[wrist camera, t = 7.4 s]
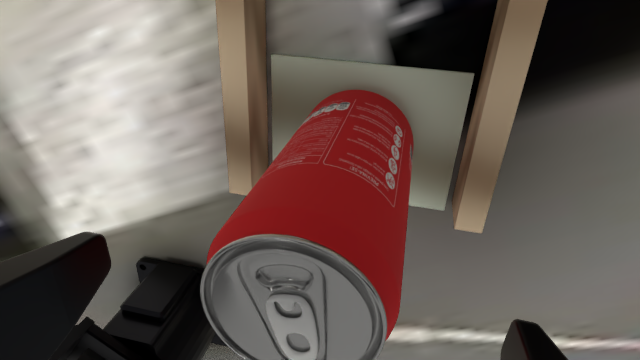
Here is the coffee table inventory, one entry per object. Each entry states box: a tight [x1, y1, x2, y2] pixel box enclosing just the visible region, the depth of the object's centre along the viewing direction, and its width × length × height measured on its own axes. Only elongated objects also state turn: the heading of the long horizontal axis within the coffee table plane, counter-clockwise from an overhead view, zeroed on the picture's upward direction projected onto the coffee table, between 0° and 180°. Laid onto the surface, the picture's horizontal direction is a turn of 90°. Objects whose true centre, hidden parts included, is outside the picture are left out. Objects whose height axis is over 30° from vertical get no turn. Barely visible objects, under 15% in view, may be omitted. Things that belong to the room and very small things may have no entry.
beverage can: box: [200, 90, 414, 360], centre depth 15 cm, size 5×5×12 cm
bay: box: [215, 0, 548, 233], centre depth 16 cm, size 20×12×4 cm, turn 178°
